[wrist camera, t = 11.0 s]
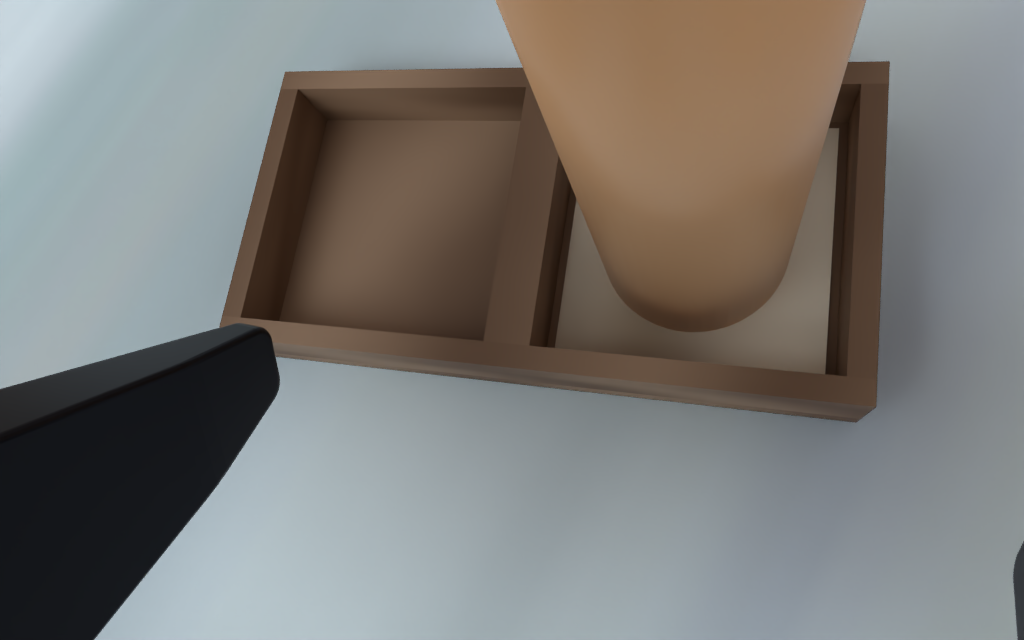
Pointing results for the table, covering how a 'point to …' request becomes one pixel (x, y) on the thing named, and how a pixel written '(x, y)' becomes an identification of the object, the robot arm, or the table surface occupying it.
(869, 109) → the brown divided tray
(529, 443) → the table surface
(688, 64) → the tan rounded column
